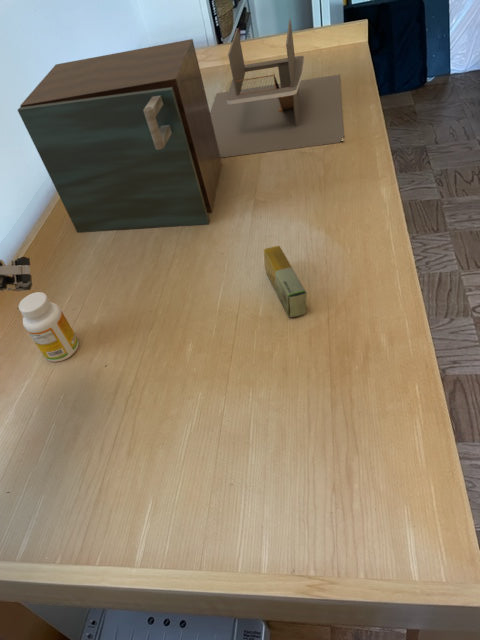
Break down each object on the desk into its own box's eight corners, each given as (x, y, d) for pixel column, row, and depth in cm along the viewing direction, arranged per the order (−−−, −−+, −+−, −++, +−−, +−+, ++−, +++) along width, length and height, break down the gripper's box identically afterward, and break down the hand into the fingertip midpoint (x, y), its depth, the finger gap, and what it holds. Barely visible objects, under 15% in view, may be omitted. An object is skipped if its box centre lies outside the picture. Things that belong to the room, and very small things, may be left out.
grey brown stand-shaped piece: (339, 74, 132) (335, -3, 120) (344, 141, 107) (339, 53, 96) (216, 93, 138) (201, 22, 127) (194, 160, 114) (172, 80, 102)
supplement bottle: (65, 331, 82) (37, 283, 76) (86, 343, 79) (59, 295, 73) (37, 354, 80) (5, 307, 73) (58, 368, 77) (26, 320, 70)
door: (202, 242, 92) (161, 105, 75) (66, 249, 99) (1, 124, 82) (209, 221, 96) (172, 86, 80) (79, 229, 103) (19, 107, 86)
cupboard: (212, 213, 98) (175, 78, 81) (79, 229, 103) (19, 105, 86) (222, 164, 111) (192, 38, 94) (103, 180, 116) (55, 64, 99)
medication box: (307, 314, 75) (307, 293, 72) (289, 319, 74) (288, 298, 72) (280, 264, 83) (279, 243, 81) (263, 268, 83) (262, 247, 80)
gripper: (-26, 216, 46) (73, 244, 63) (-156, 234, 48) (-26, 256, 65) (-20, 303, 46) (78, 308, 63) (-150, 317, 48) (-22, 317, 65)
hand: (25, 281), depth 64 cm, fingers closed
